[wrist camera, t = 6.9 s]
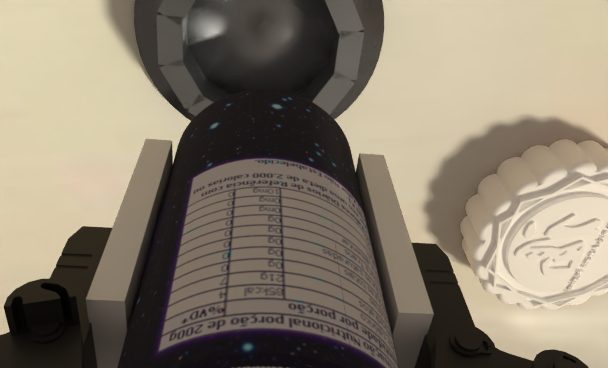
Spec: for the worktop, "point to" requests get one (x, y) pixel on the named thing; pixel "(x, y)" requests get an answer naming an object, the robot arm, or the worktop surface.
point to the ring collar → (259, 49)
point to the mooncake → (542, 226)
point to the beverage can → (261, 248)
